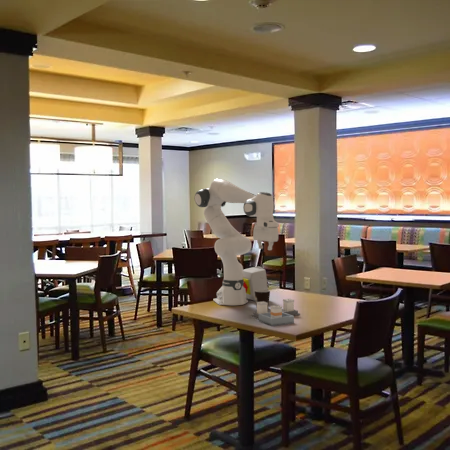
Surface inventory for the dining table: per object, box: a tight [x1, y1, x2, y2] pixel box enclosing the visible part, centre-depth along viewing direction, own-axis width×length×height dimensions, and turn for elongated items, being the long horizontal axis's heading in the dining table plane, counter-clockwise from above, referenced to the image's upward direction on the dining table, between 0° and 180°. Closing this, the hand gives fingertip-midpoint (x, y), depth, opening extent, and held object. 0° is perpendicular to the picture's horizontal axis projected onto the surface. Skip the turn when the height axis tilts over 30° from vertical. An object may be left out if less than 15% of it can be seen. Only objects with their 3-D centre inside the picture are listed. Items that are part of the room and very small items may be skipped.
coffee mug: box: [255, 289, 271, 309], centre depth 295 cm, size 12×9×10 cm
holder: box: [250, 308, 301, 321], centre depth 275 cm, size 8×25×2 cm, turn 116°
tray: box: [258, 312, 295, 327], centre depth 262 cm, size 13×13×4 cm
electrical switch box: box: [243, 265, 269, 302], centre depth 321 cm, size 15×15×20 cm
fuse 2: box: [282, 298, 295, 311], centre depth 279 cm, size 4×4×7 cm
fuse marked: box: [269, 304, 283, 318], centre depth 262 cm, size 4×4×7 cm
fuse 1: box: [256, 301, 269, 314], centre depth 272 cm, size 4×4×7 cm
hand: (265, 249), depth 279 cm, fingers open, 8 cm apart
